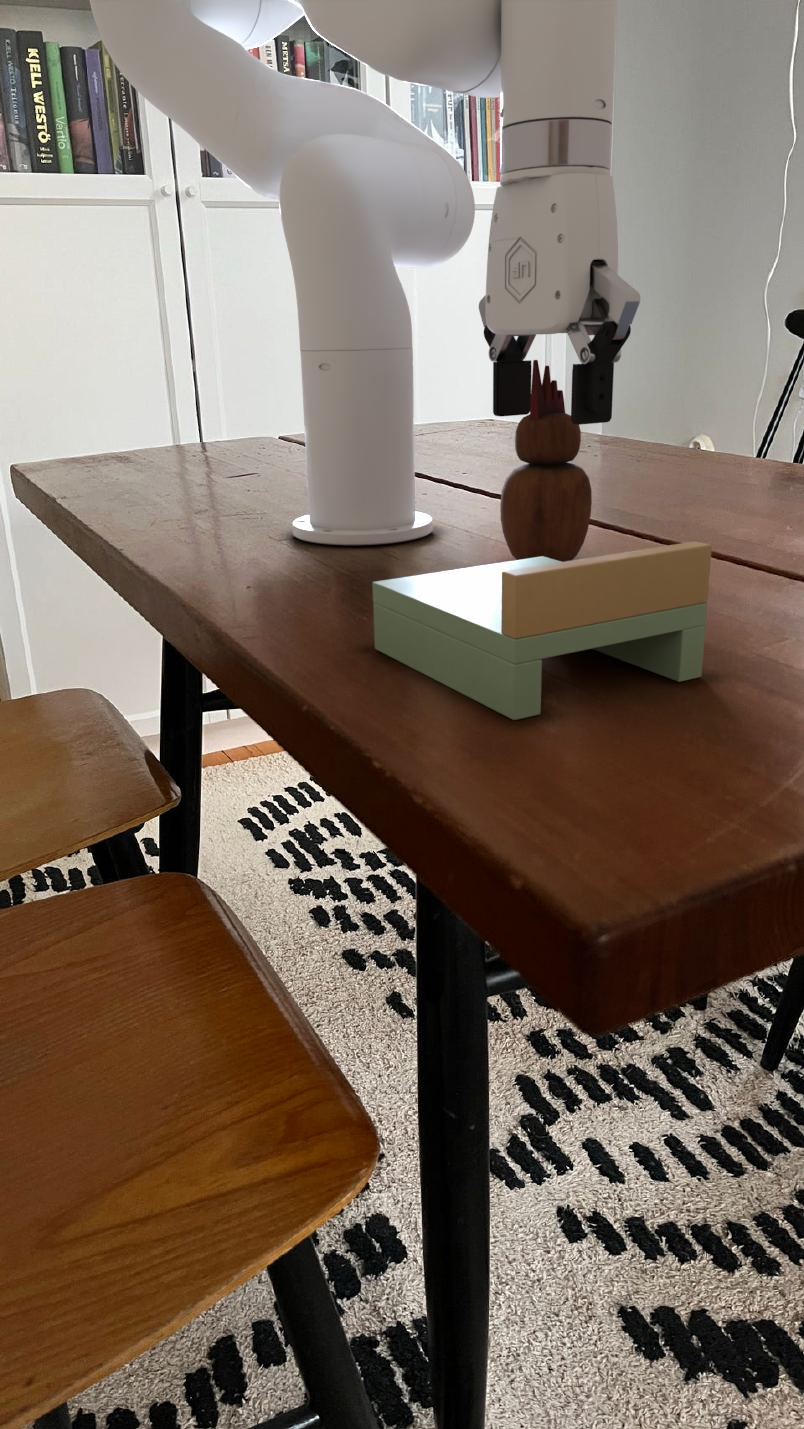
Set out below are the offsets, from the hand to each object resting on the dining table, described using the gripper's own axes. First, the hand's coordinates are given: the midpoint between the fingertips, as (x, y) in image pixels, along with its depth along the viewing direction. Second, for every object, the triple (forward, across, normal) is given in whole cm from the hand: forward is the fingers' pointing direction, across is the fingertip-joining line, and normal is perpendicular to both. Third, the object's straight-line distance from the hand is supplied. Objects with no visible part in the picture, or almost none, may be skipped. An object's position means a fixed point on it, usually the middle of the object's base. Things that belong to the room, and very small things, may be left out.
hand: (549, 418), depth 78 cm
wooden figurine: (+11, 0, 0) cm, 11 cm away
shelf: (+11, +20, -16) cm, 28 cm away
